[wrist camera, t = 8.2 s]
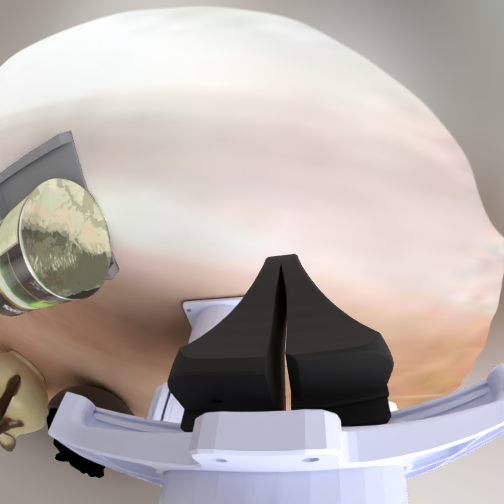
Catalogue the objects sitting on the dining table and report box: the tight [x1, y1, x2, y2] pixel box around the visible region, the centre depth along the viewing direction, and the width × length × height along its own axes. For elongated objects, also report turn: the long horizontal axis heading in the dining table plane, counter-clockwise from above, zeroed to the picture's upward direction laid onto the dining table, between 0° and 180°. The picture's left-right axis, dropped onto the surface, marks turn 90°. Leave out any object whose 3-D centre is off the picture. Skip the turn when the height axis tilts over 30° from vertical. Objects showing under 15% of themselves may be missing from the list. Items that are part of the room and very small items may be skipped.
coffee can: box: [0, 178, 111, 316], centre depth 20 cm, size 10×10×14 cm
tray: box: [0, 131, 119, 280], centre depth 23 cm, size 15×16×2 cm
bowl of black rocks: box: [46, 386, 134, 478], centre depth 35 cm, size 20×20×19 cm
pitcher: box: [0, 350, 49, 452], centre depth 35 cm, size 22×24×25 cm
